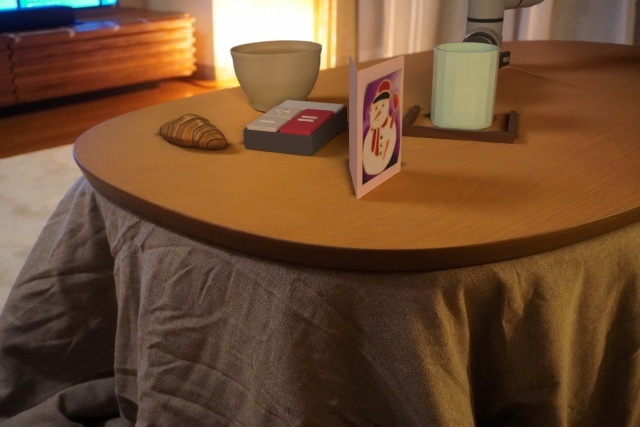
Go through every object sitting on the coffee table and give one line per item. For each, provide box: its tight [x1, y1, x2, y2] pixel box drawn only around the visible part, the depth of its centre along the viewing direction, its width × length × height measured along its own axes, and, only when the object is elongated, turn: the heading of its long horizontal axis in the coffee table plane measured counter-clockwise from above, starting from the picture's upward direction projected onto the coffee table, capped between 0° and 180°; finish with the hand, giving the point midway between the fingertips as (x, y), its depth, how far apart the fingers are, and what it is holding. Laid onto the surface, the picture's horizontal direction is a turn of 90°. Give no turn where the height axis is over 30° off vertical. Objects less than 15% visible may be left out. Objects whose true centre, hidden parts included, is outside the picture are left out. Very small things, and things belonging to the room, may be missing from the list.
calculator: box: [242, 100, 349, 157], centre depth 95 cm, size 11×4×15 cm
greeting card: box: [348, 52, 405, 201], centre depth 75 cm, size 11×7×15 cm, turn 147°
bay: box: [402, 104, 518, 144], centre depth 99 cm, size 14×17×2 cm
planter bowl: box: [229, 39, 323, 113], centre depth 111 cm, size 16×16×11 cm
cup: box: [429, 41, 501, 130], centre depth 100 cm, size 10×10×12 cm
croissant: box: [158, 112, 228, 151], centre depth 92 cm, size 14×7×5 cm, turn 54°
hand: (466, 74), depth 104 cm, fingers closed
